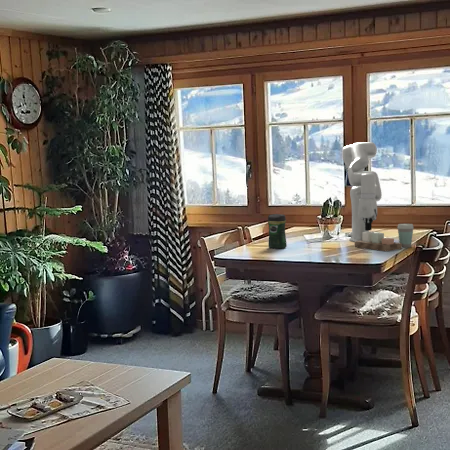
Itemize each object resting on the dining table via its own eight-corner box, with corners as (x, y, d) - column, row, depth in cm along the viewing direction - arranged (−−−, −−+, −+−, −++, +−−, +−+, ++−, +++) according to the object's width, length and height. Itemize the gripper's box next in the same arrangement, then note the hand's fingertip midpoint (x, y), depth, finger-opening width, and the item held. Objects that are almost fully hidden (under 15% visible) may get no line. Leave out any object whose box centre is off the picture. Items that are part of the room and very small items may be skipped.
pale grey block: (362, 241, 363) (362, 232, 362) (368, 240, 365) (368, 231, 364) (368, 242, 359) (368, 232, 358) (374, 241, 361) (374, 232, 361)
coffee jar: (288, 247, 368) (288, 213, 365) (281, 249, 361) (280, 215, 359) (274, 246, 373) (273, 213, 371) (266, 248, 367) (265, 214, 365)
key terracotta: (381, 248, 351) (381, 238, 351) (387, 247, 354) (387, 237, 353) (388, 248, 348) (388, 239, 347) (394, 248, 350) (394, 238, 349)
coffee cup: (414, 247, 352) (414, 225, 351) (397, 247, 354) (397, 225, 353) (413, 245, 361) (413, 223, 359) (396, 245, 362) (396, 223, 361)
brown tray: (355, 246, 362) (355, 241, 362) (370, 244, 369) (370, 239, 369) (385, 251, 344) (385, 245, 344) (401, 248, 351) (401, 243, 350)
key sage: (371, 242, 357) (371, 233, 356) (377, 241, 359) (377, 232, 359) (378, 243, 353) (378, 234, 353) (383, 242, 356) (383, 233, 355)
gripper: (353, 196, 363) (353, 229, 365) (373, 197, 351) (373, 232, 353) (363, 195, 367) (363, 228, 369) (383, 196, 355) (383, 230, 357)
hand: (368, 230), depth 361 cm, fingers closed
